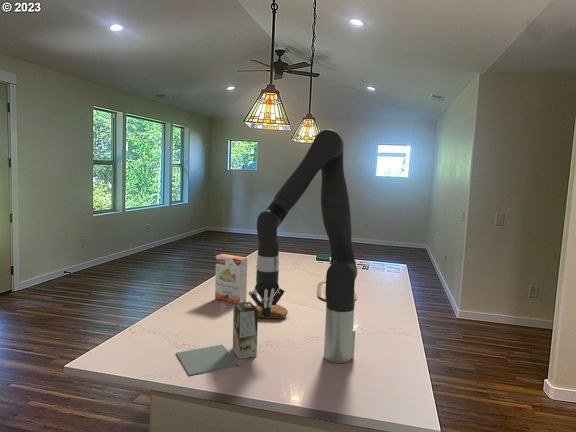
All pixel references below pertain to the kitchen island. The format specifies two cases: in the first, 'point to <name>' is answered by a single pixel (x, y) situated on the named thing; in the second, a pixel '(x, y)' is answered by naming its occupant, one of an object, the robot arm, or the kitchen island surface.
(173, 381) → the kitchen island surface
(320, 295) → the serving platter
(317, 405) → the kitchen island surface
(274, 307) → the ceramic shard
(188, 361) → the mat
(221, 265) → the cracker box
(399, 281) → the kitchen island surface
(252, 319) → the coffee box
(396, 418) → the kitchen island surface
